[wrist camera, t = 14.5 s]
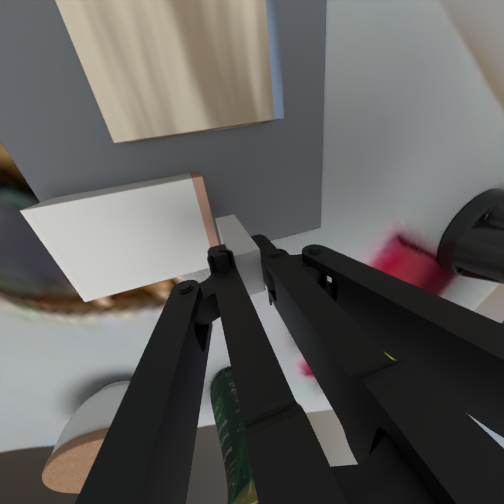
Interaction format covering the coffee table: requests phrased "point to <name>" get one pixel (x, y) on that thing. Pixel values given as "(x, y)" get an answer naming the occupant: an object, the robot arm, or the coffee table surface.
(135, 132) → the oak slab
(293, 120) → the mat
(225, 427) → the coffee jar
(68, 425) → the lidded jar
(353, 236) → the coffee table surface
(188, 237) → the cream slab
